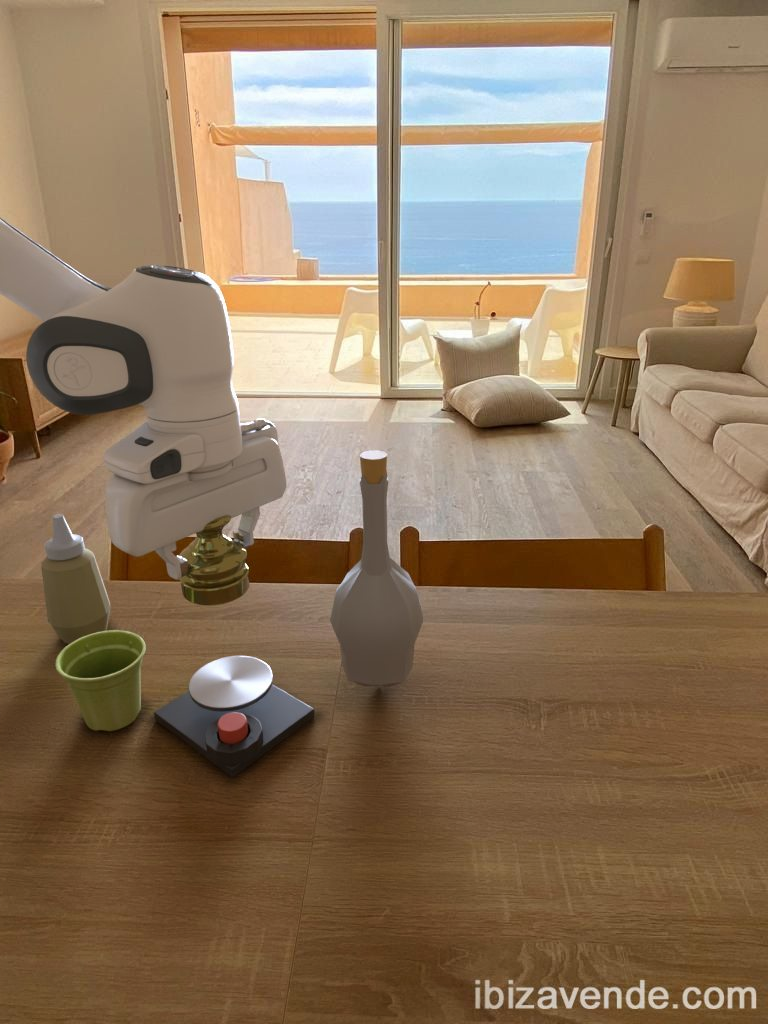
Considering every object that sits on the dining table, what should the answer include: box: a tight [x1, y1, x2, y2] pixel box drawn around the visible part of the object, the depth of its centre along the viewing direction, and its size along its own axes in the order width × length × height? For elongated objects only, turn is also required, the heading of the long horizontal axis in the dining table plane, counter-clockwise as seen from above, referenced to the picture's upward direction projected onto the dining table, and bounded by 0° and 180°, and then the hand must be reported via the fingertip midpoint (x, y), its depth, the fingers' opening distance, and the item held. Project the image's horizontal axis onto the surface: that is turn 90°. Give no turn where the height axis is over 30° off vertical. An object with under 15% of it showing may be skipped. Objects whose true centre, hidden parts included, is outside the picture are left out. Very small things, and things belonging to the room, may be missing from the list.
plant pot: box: [55, 629, 147, 732], centre depth 79 cm, size 9×9×9 cm
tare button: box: [218, 712, 248, 744], centre depth 74 cm, size 3×3×2 cm
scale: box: [153, 683, 315, 778], centre depth 79 cm, size 14×12×3 cm
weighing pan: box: [188, 655, 274, 712], centre depth 81 cm, size 10×10×1 cm
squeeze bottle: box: [40, 513, 112, 645], centre depth 93 cm, size 8×8×18 cm
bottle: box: [329, 449, 424, 688], centre depth 79 cm, size 11×11×30 cm
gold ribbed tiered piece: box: [178, 515, 251, 607], centre depth 74 cm, size 7×7×10 cm
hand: (212, 560), depth 75 cm, fingers closed on gold ribbed tiered piece, 7 cm apart
